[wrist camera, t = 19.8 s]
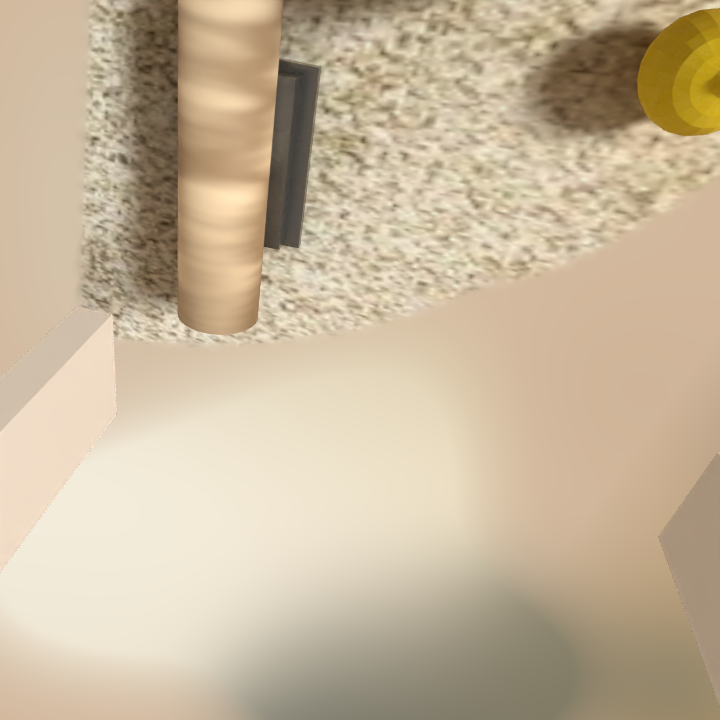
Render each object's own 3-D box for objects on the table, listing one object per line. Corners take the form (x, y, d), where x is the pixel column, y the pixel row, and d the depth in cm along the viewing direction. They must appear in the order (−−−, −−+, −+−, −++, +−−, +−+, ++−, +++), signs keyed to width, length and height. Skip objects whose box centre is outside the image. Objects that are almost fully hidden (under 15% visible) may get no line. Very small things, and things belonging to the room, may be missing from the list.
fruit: (598, 78, 34) (636, 104, 27) (680, -20, 31) (745, -18, 24) (670, 139, 35) (724, 178, 28) (755, 49, 32) (838, 69, 25)
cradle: (184, 39, 35) (167, 43, 33) (321, 66, 35) (313, 72, 33) (183, 221, 41) (168, 234, 39) (300, 244, 41) (292, 259, 39)
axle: (213, -18, 32) (155, -22, 28) (300, 1, 31) (253, 0, 27) (205, 287, 42) (161, 318, 38) (271, 309, 41) (233, 343, 37)
